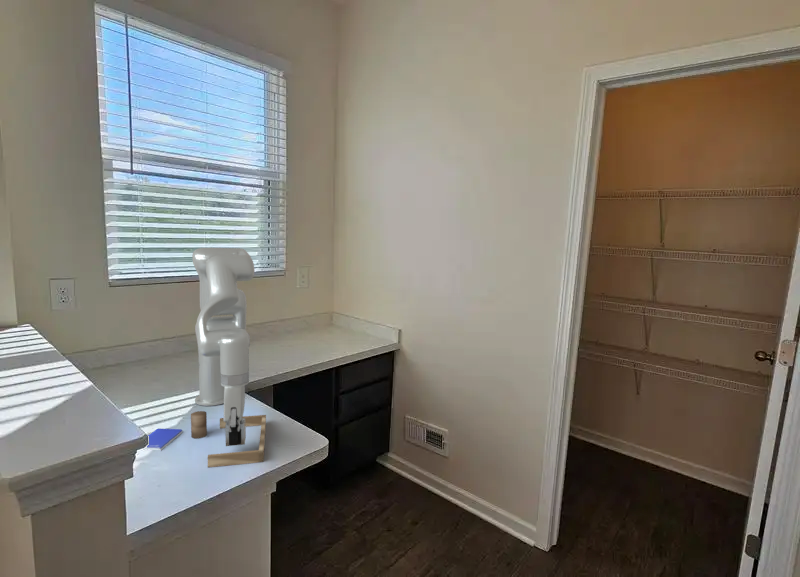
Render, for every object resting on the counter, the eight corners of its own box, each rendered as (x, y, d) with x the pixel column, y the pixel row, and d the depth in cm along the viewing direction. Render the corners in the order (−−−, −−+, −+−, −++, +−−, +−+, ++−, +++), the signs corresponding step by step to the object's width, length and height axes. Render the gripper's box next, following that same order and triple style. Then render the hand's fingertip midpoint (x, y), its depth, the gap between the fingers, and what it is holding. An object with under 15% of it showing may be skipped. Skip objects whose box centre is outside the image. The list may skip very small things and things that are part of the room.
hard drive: (160, 447, 128) (182, 429, 140) (132, 446, 128) (156, 428, 140) (160, 452, 128) (182, 433, 140) (132, 451, 128) (156, 432, 141)
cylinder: (192, 433, 140) (192, 411, 139) (207, 431, 141) (207, 410, 140) (190, 439, 136) (189, 417, 135) (205, 437, 137) (205, 416, 136)
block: (227, 439, 129) (227, 419, 129) (245, 437, 130) (245, 417, 130) (225, 446, 125) (225, 425, 124) (244, 444, 126) (244, 424, 126)
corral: (220, 427, 145) (220, 418, 144) (266, 423, 149) (266, 414, 148) (207, 467, 119) (207, 456, 119) (263, 461, 123) (263, 451, 123)
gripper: (224, 370, 133) (225, 429, 135) (216, 388, 117) (218, 455, 119) (250, 369, 135) (251, 427, 137) (246, 386, 119) (247, 452, 120)
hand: (235, 439), depth 128 cm, fingers closed on block, 4 cm apart
